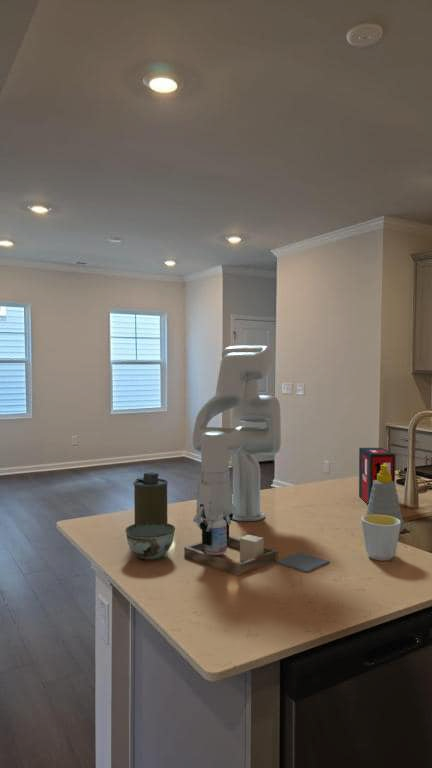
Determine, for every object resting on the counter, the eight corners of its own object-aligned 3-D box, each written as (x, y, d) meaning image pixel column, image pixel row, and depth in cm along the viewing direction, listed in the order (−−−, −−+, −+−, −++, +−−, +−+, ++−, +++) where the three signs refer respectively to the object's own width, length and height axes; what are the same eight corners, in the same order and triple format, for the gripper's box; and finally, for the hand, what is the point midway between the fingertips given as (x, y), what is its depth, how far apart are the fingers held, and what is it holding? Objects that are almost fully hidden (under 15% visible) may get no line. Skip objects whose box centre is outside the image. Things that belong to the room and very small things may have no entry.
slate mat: (276, 562, 141) (276, 560, 141) (298, 553, 148) (298, 551, 148) (307, 572, 134) (307, 570, 134) (329, 562, 141) (329, 560, 141)
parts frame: (184, 556, 146) (184, 547, 146) (224, 542, 158) (224, 534, 158) (237, 576, 132) (237, 566, 132) (277, 559, 143) (277, 550, 143)
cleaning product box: (359, 497, 213) (359, 447, 212) (381, 497, 213) (381, 447, 212) (370, 508, 196) (370, 454, 196) (394, 508, 196) (395, 454, 196)
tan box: (239, 560, 143) (239, 538, 143) (247, 556, 147) (247, 534, 146) (255, 564, 140) (255, 541, 140) (263, 559, 144) (263, 537, 143)
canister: (175, 538, 162) (175, 472, 162) (148, 546, 154) (148, 478, 154) (152, 530, 170) (151, 468, 169) (125, 538, 162) (125, 473, 161)
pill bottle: (224, 556, 143) (224, 515, 143) (202, 555, 145) (202, 514, 144) (228, 548, 149) (228, 509, 149) (207, 547, 151) (207, 508, 150)
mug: (398, 566, 138) (398, 526, 138) (358, 560, 143) (358, 522, 142) (403, 550, 151) (403, 513, 151) (366, 545, 155) (366, 509, 155)
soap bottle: (404, 524, 176) (404, 463, 175) (404, 535, 164) (404, 469, 164) (365, 520, 180) (365, 461, 179) (362, 531, 168) (363, 467, 168)
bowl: (154, 570, 136) (154, 539, 136) (115, 560, 144) (114, 530, 143) (185, 554, 148) (185, 525, 148) (147, 545, 155) (147, 518, 155)
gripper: (227, 470, 155) (227, 530, 156) (182, 479, 143) (183, 545, 143) (246, 473, 149) (246, 536, 150) (201, 484, 137) (202, 553, 138)
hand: (215, 540), depth 147 cm, fingers closed on pill bottle, 6 cm apart
